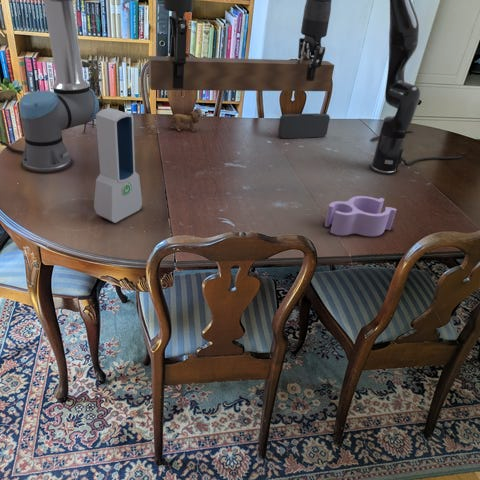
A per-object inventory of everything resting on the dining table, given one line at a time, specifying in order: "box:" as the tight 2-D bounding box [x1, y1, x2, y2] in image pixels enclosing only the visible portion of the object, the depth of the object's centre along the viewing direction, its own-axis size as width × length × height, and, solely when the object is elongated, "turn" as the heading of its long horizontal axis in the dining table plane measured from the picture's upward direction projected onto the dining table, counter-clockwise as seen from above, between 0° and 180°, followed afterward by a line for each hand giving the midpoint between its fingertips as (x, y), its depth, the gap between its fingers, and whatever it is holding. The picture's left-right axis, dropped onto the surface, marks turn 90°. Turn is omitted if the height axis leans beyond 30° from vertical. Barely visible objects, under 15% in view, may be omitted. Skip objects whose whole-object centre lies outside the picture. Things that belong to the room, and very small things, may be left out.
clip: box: [324, 195, 398, 237], centre depth 141 cm, size 20×12×7 cm, turn 109°
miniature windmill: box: [81, 53, 107, 133], centre depth 181 cm, size 9×8×30 cm
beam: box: [147, 55, 335, 92], centre depth 137 cm, size 55×5×8 cm, turn 107°
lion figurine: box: [167, 107, 203, 132], centre depth 197 cm, size 15×5×9 cm, turn 110°
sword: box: [371, 131, 411, 142], centre depth 217 cm, size 31×3×1 cm, turn 126°
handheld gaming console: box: [277, 113, 331, 139], centre depth 203 cm, size 23×3×10 cm, turn 108°
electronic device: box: [93, 107, 143, 224], centre depth 129 cm, size 12×8×30 cm, turn 148°
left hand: (176, 85), depth 133 cm, fingers closed on beam, 5 cm apart
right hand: (306, 77), depth 143 cm, fingers closed on beam, 5 cm apart
